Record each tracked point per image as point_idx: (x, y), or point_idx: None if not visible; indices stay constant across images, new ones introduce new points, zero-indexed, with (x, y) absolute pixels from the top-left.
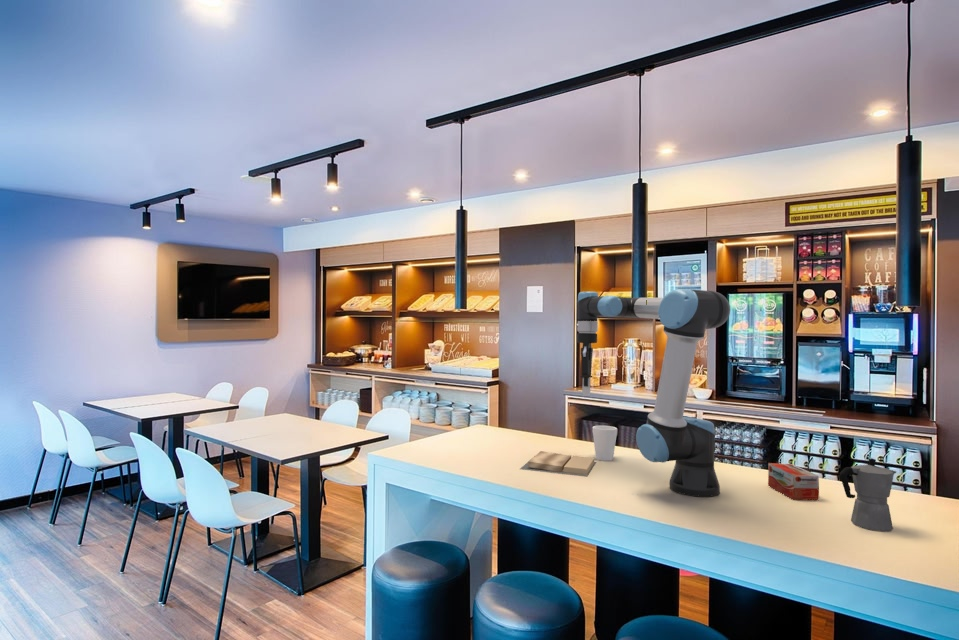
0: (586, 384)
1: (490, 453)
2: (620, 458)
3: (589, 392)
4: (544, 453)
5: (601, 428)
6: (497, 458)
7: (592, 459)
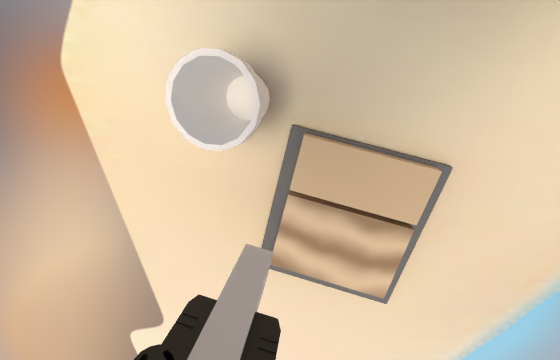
0: (276, 343)
1: None
2: (203, 44)
3: (268, 264)
4: (291, 258)
5: (180, 110)
6: None
7: (325, 143)
